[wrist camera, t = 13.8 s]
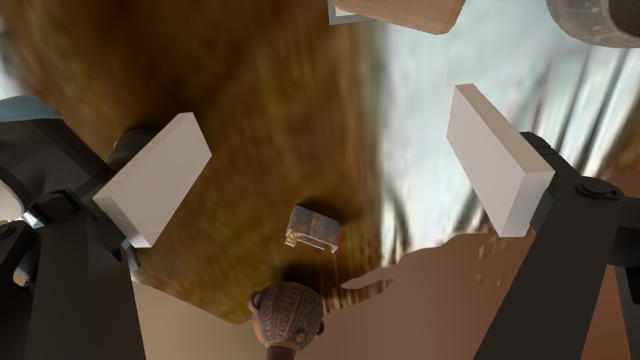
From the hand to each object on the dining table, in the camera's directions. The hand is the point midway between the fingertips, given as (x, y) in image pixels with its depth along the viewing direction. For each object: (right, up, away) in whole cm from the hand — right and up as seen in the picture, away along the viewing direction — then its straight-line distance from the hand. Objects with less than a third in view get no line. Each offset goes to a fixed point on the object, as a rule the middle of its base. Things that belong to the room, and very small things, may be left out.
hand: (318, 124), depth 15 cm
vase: (-8, -35, +73) cm, 81 cm away
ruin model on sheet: (-1, -11, +52) cm, 54 cm away
